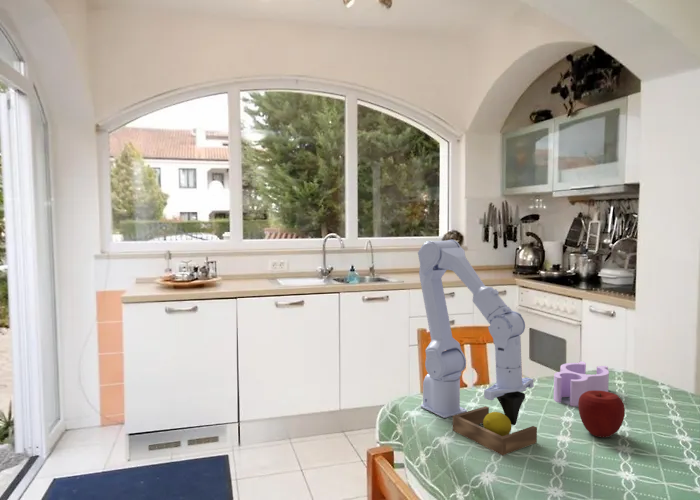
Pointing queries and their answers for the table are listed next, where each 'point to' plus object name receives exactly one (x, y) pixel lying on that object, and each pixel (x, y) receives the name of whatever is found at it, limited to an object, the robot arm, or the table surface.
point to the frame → (501, 444)
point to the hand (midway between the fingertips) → (510, 423)
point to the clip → (578, 381)
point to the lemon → (497, 423)
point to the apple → (601, 412)
